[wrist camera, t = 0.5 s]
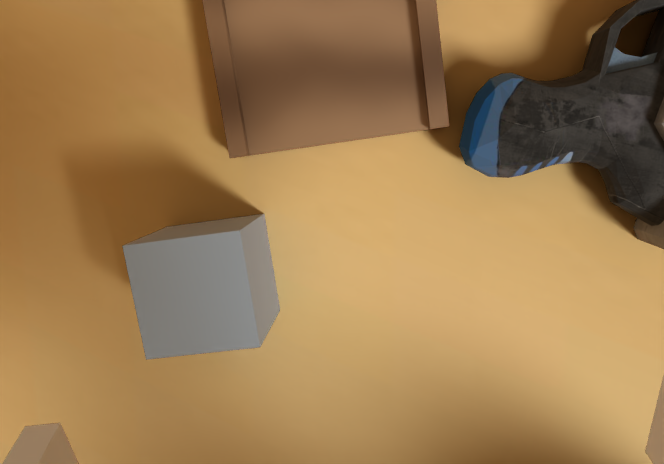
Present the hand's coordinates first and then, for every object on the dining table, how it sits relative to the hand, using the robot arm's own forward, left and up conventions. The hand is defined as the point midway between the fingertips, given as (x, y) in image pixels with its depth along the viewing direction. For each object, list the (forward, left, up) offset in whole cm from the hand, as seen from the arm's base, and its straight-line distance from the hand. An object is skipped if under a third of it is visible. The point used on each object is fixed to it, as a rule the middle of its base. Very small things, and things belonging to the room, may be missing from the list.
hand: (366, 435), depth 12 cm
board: (+16, +1, -20) cm, 26 cm away
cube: (0, +9, -20) cm, 22 cm away
